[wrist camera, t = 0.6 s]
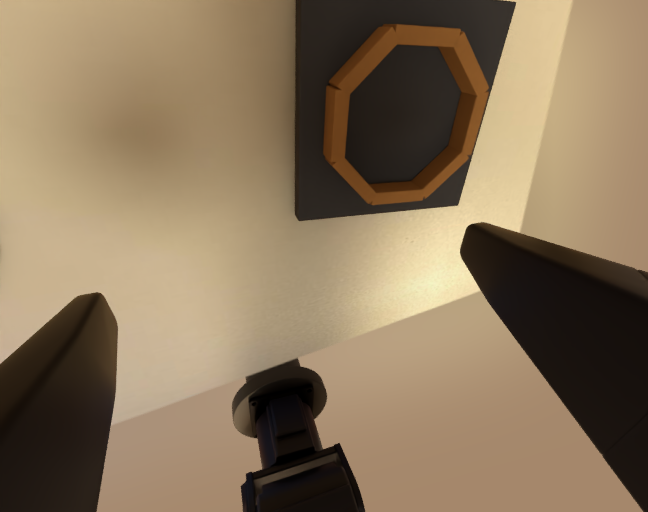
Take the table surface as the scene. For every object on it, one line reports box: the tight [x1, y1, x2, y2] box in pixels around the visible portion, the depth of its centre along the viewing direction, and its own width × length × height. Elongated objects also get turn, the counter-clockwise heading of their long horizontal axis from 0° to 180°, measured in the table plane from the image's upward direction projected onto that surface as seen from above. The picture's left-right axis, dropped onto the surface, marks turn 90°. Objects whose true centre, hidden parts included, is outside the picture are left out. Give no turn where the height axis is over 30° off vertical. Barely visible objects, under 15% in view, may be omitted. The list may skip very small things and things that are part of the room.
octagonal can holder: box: [295, 0, 516, 221], centre depth 20 cm, size 12×12×2 cm
